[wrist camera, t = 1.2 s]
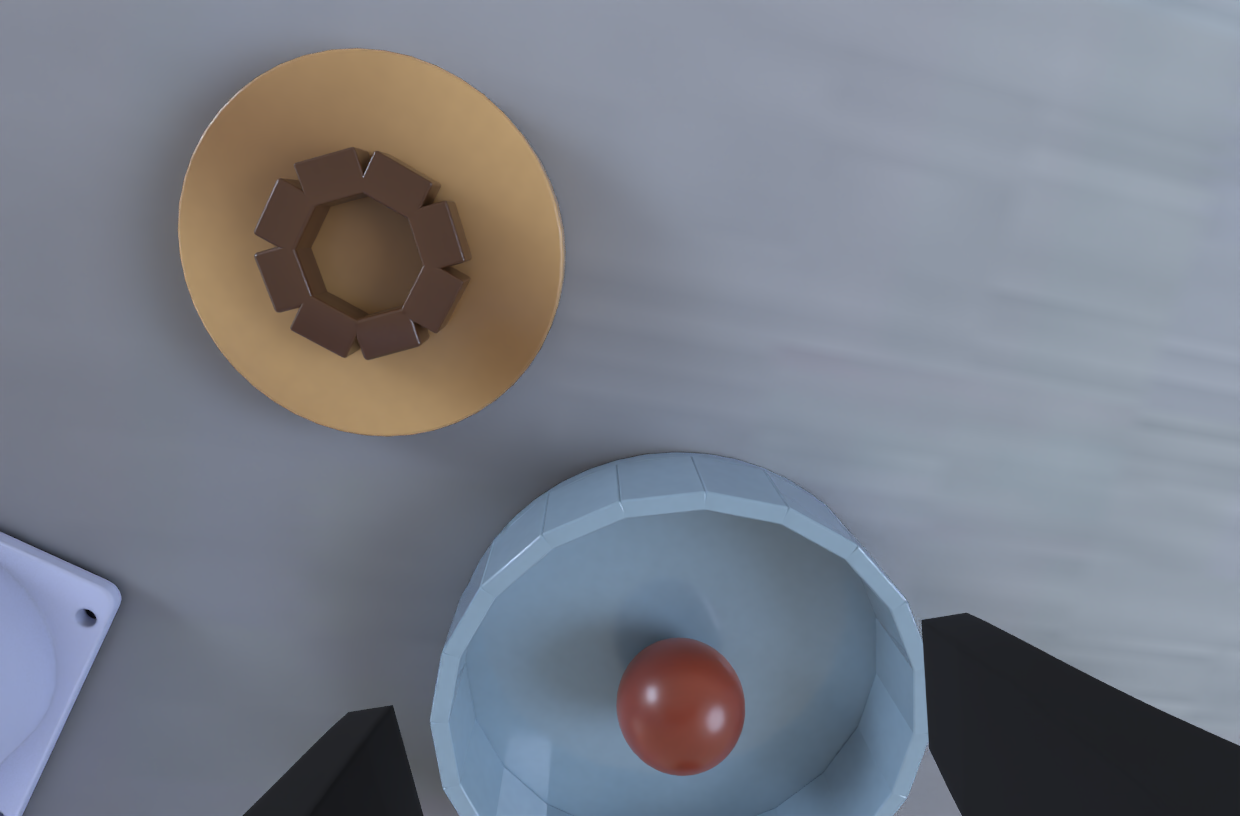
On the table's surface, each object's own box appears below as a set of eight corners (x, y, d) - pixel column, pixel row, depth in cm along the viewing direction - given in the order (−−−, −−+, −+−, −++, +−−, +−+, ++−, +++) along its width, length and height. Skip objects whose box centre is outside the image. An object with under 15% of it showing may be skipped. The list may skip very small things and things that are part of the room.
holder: (465, 480, 19) (449, 514, 17) (149, 317, 18) (88, 332, 16) (630, 185, 17) (636, 181, 15) (294, -20, 16) (249, -55, 14)
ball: (692, 735, 21) (710, 826, 18) (592, 686, 20) (593, 772, 17) (755, 646, 20) (785, 725, 17) (653, 594, 20) (664, 665, 16)
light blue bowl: (737, 888, 23) (758, 987, 20) (381, 729, 21) (347, 813, 18) (969, 579, 20) (1032, 641, 17) (590, 368, 18) (590, 397, 16)
